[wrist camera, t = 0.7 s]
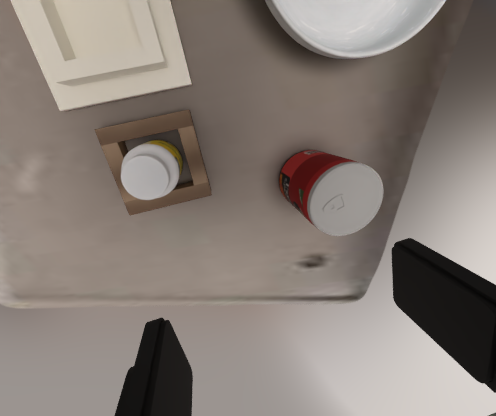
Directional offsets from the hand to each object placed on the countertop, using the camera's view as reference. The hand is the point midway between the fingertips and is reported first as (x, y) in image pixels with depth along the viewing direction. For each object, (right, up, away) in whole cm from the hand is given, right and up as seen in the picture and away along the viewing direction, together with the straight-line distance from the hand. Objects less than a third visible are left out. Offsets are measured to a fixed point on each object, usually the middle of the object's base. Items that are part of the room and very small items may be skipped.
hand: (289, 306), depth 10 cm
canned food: (+6, +8, +25) cm, 27 cm away
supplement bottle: (-12, +10, +21) cm, 26 cm away
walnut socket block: (-12, +10, +21) cm, 26 cm away
